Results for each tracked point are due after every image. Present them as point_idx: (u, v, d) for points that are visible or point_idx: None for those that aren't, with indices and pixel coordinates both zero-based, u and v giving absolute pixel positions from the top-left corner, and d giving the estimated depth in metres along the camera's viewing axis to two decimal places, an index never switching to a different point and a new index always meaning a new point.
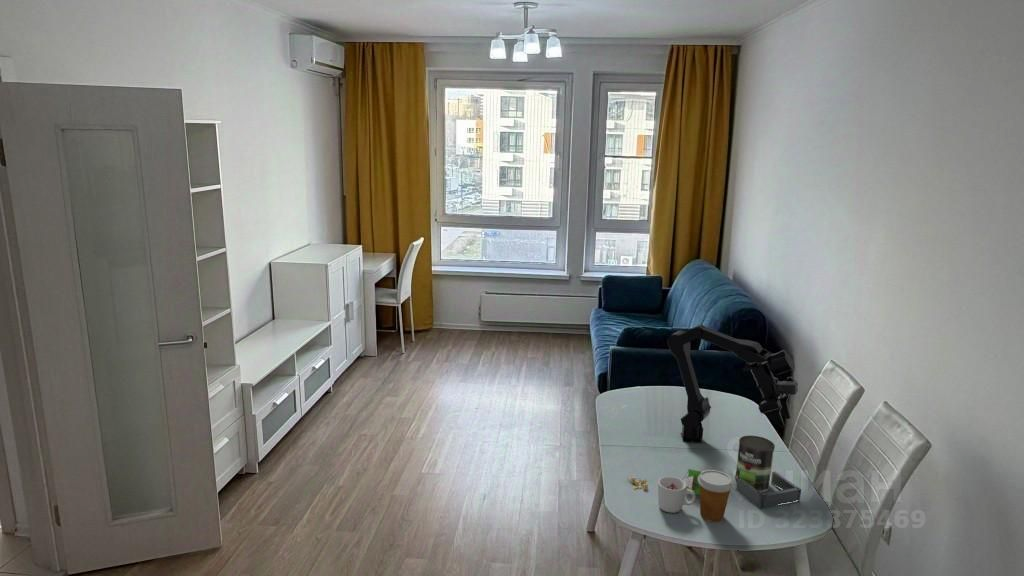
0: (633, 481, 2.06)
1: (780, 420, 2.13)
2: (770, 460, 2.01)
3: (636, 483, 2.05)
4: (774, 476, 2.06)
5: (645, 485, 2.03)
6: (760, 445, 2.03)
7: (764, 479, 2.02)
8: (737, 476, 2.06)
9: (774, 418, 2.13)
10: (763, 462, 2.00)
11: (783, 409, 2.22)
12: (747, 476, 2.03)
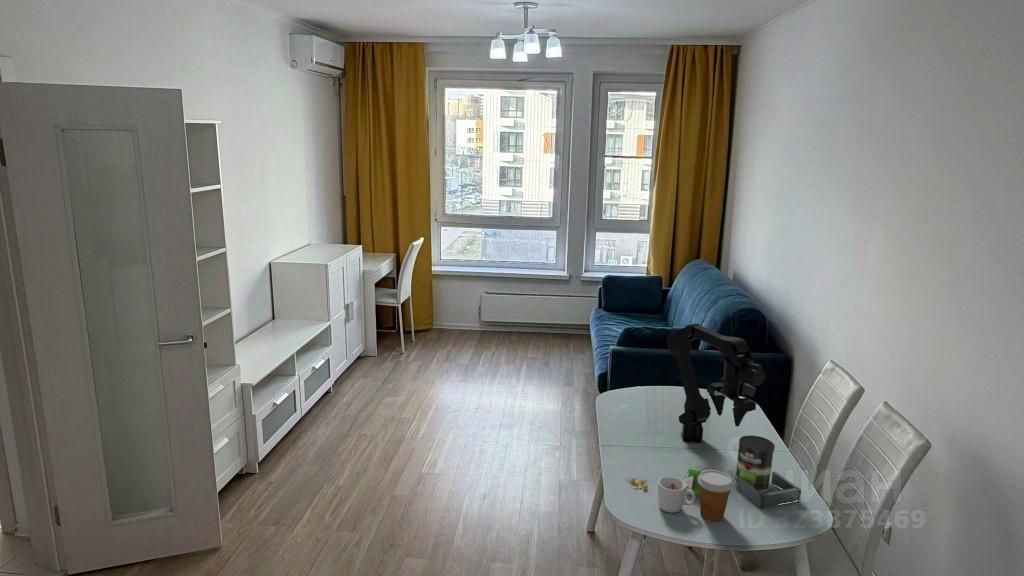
0: (633, 481, 2.06)
1: (741, 419, 2.17)
2: (770, 460, 2.01)
3: (636, 483, 2.05)
4: (774, 476, 2.06)
5: (645, 485, 2.02)
6: (760, 445, 2.03)
7: (764, 479, 2.02)
8: (737, 476, 2.06)
9: (738, 416, 2.16)
10: (763, 462, 2.00)
11: (719, 406, 2.26)
12: (747, 476, 2.03)
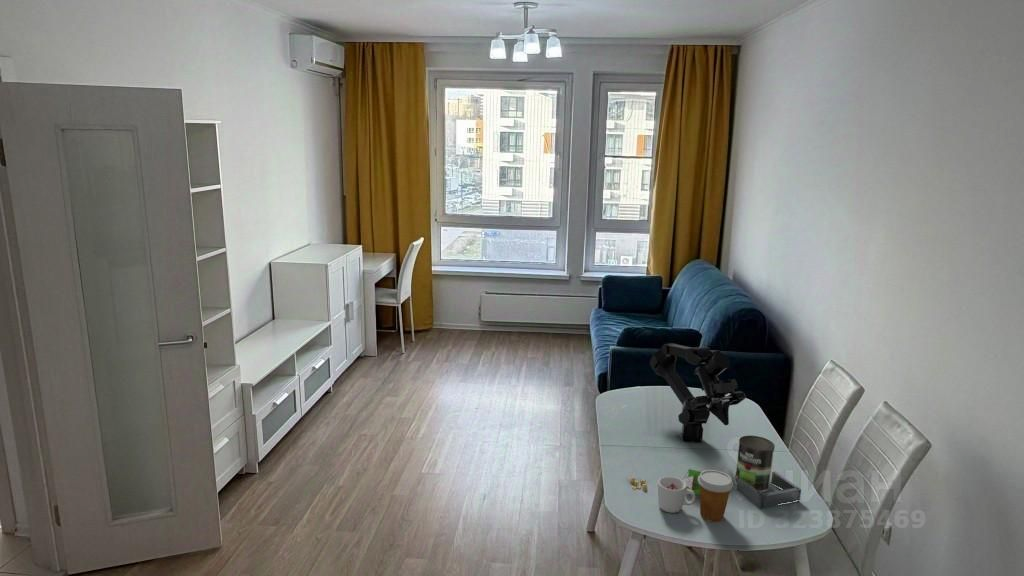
0: (633, 481, 2.06)
1: (722, 417, 2.18)
2: (770, 460, 2.01)
3: (636, 483, 2.05)
4: (774, 476, 2.06)
5: (644, 485, 2.02)
6: (760, 445, 2.03)
7: (764, 479, 2.02)
8: (737, 476, 2.06)
9: (717, 414, 2.20)
10: (763, 462, 2.00)
11: None
12: (747, 476, 2.03)
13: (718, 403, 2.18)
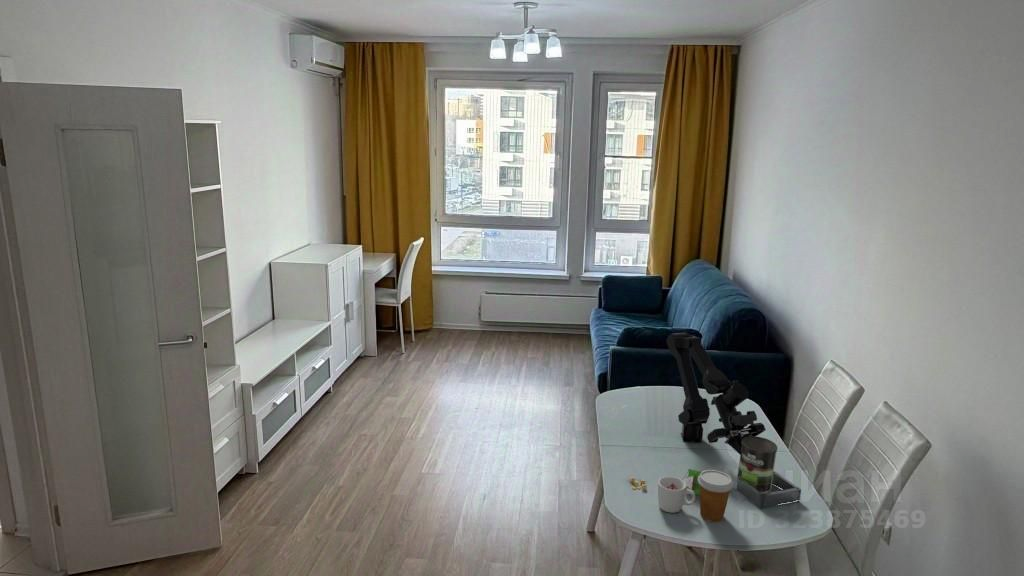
0: (632, 481, 2.06)
1: None
2: (772, 462, 2.00)
3: (635, 483, 2.04)
4: (774, 476, 2.06)
5: (644, 486, 2.02)
6: (763, 446, 2.02)
7: (766, 480, 2.01)
8: (739, 477, 2.05)
9: (736, 448, 2.11)
10: (766, 464, 1.99)
11: None
12: (749, 478, 2.02)
13: (737, 436, 2.09)
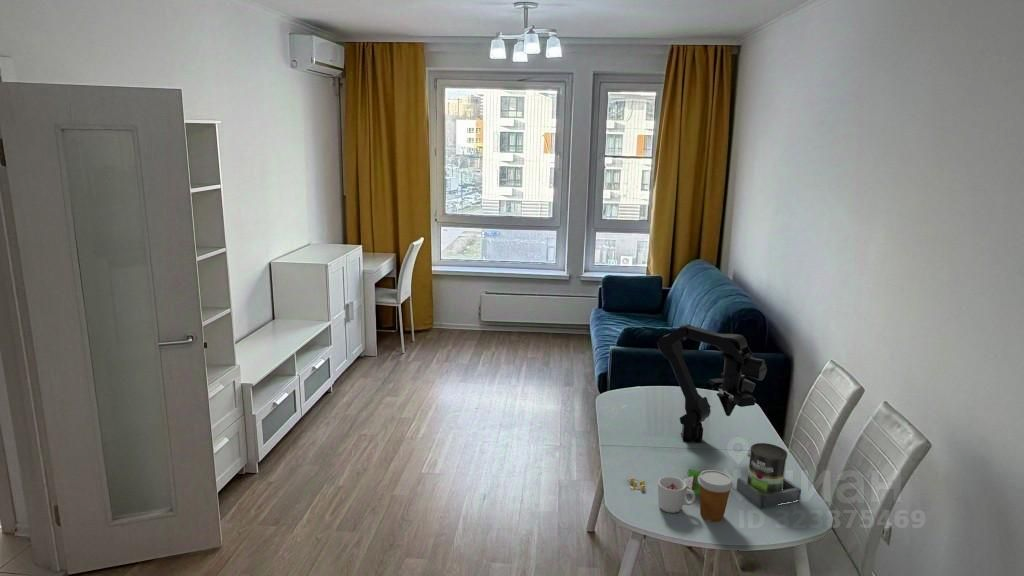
0: (632, 481, 2.06)
1: (732, 409, 2.25)
2: (782, 469, 1.96)
3: (634, 484, 2.04)
4: None
5: (642, 486, 2.02)
6: (772, 453, 1.98)
7: (776, 488, 1.97)
8: None
9: (729, 406, 2.24)
10: (775, 471, 1.95)
11: None
12: (758, 485, 1.98)
13: None
